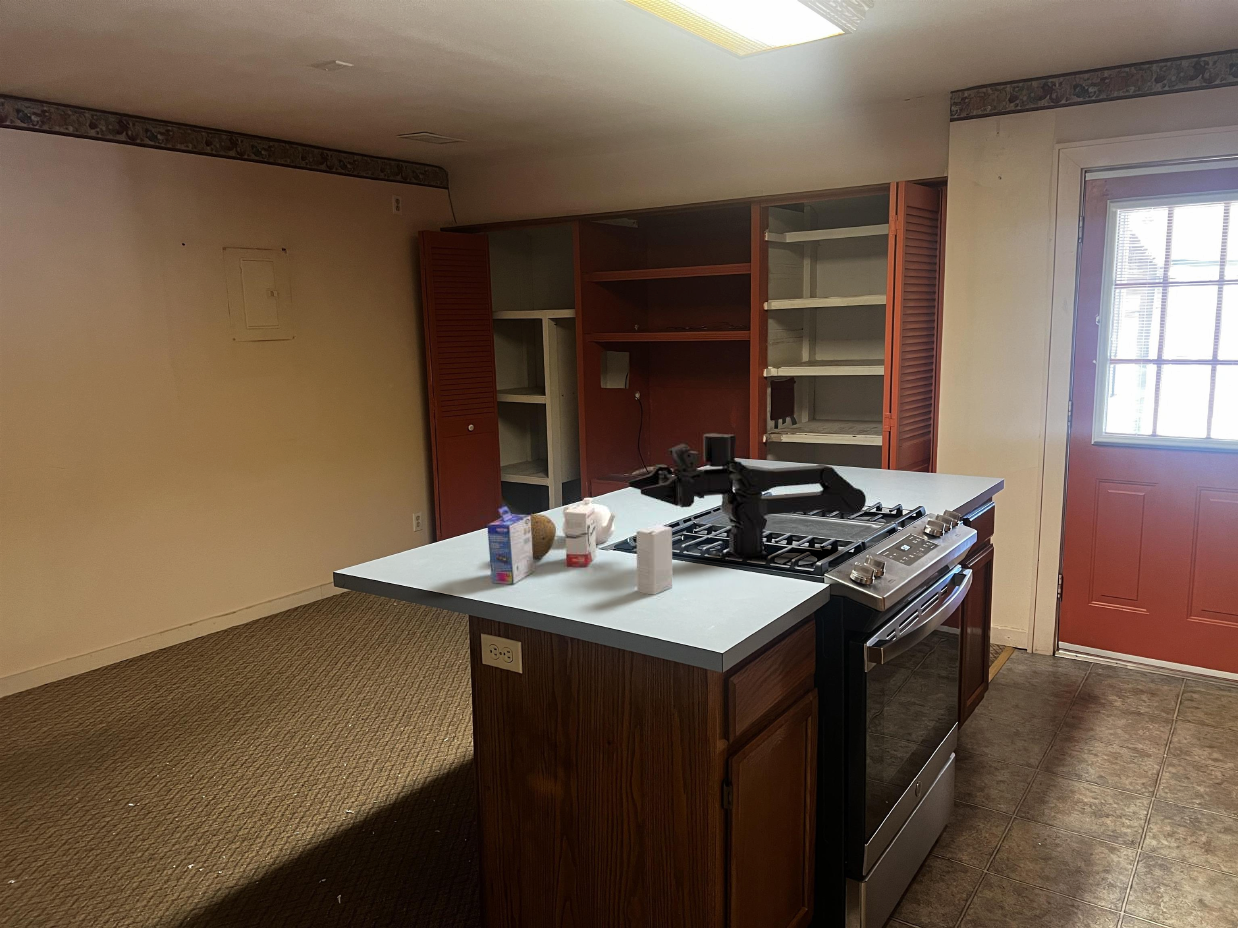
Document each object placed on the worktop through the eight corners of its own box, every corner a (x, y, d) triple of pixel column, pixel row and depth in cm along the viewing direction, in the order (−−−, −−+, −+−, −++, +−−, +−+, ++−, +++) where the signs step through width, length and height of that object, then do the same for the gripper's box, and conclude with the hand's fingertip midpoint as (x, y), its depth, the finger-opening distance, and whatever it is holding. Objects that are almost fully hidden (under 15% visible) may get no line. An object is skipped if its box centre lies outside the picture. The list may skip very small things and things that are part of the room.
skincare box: (655, 584, 171) (654, 523, 169) (673, 588, 168) (673, 526, 167) (635, 591, 167) (634, 530, 165) (654, 596, 164) (653, 533, 162)
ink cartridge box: (510, 569, 184) (507, 502, 182) (534, 571, 182) (532, 503, 180) (489, 583, 175) (485, 512, 173) (514, 585, 173) (510, 513, 171)
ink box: (587, 567, 185) (586, 512, 183) (565, 566, 186) (563, 512, 184) (597, 556, 193) (595, 504, 191) (575, 556, 194) (573, 504, 192)
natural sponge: (522, 565, 187) (520, 520, 185) (510, 556, 195) (508, 512, 193) (562, 560, 190) (560, 515, 189) (548, 551, 199) (547, 508, 197)
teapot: (637, 543, 204) (636, 500, 203) (595, 552, 196) (594, 508, 195) (585, 529, 219) (583, 489, 218) (544, 537, 212) (543, 496, 210)
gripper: (689, 440, 195) (622, 444, 191) (720, 451, 177) (646, 455, 173) (690, 489, 197) (623, 494, 193) (720, 504, 179) (647, 510, 175)
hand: (634, 487), depth 183 cm, fingers open, 9 cm apart
